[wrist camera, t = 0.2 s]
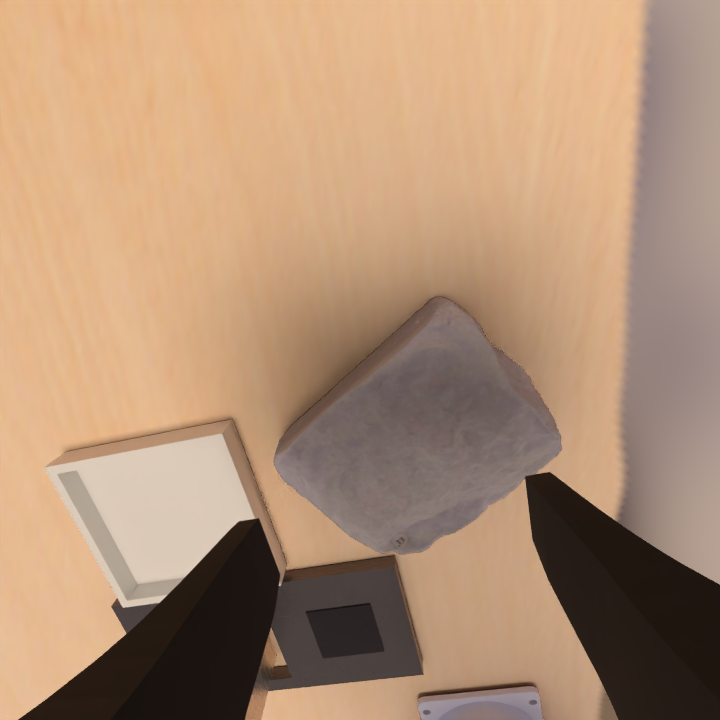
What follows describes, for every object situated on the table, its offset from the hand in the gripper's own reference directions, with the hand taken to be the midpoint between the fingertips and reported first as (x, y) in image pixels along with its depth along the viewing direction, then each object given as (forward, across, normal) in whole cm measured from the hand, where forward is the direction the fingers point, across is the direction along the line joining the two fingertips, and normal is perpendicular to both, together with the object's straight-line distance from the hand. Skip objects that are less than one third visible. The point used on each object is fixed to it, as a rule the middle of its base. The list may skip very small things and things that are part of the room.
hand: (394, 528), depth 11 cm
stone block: (+10, -1, +3) cm, 11 cm away
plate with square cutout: (+10, +11, +15) cm, 21 cm away
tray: (+10, +13, +5) cm, 18 cm away
